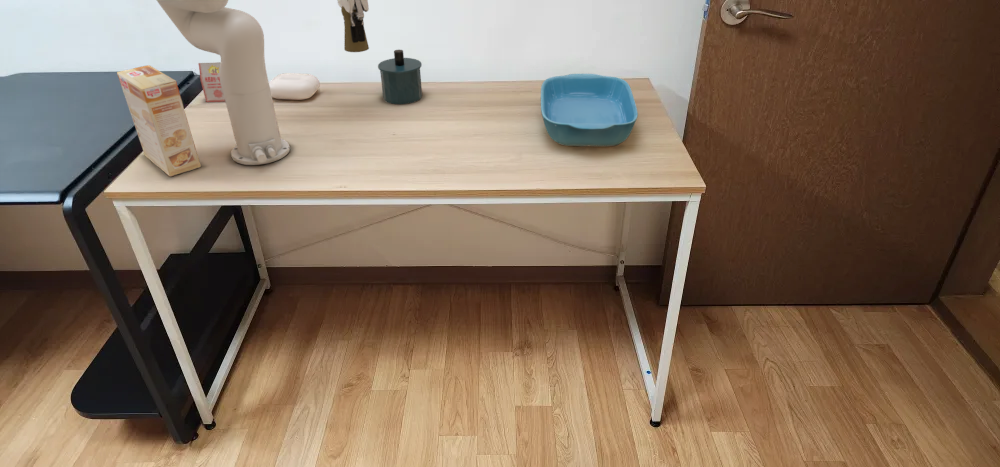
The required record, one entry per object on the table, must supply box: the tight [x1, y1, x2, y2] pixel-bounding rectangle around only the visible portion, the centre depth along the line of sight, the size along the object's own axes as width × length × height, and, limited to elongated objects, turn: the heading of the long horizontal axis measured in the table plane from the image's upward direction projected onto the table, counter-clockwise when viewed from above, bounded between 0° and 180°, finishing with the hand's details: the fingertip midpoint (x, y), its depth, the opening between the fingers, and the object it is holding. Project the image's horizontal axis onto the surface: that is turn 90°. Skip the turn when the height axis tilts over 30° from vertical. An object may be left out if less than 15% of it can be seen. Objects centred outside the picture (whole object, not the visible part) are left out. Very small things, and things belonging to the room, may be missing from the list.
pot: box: [379, 68, 423, 105], centre depth 172 cm, size 10×10×8 cm
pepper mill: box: [340, 6, 370, 53], centre depth 158 cm, size 6×6×11 cm
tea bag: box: [197, 61, 225, 103], centre depth 171 cm, size 4×7×10 cm, turn 95°
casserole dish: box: [540, 73, 639, 147], centre depth 156 cm, size 37×22×7 cm, turn 177°
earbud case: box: [268, 72, 321, 101], centre depth 174 cm, size 10×13×5 cm
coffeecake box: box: [116, 64, 202, 177], centre depth 137 cm, size 15×7×20 cm, turn 44°
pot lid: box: [377, 49, 422, 74], centre depth 168 cm, size 11×11×5 cm
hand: (355, 38), depth 160 cm, fingers closed on pepper mill, 4 cm apart
